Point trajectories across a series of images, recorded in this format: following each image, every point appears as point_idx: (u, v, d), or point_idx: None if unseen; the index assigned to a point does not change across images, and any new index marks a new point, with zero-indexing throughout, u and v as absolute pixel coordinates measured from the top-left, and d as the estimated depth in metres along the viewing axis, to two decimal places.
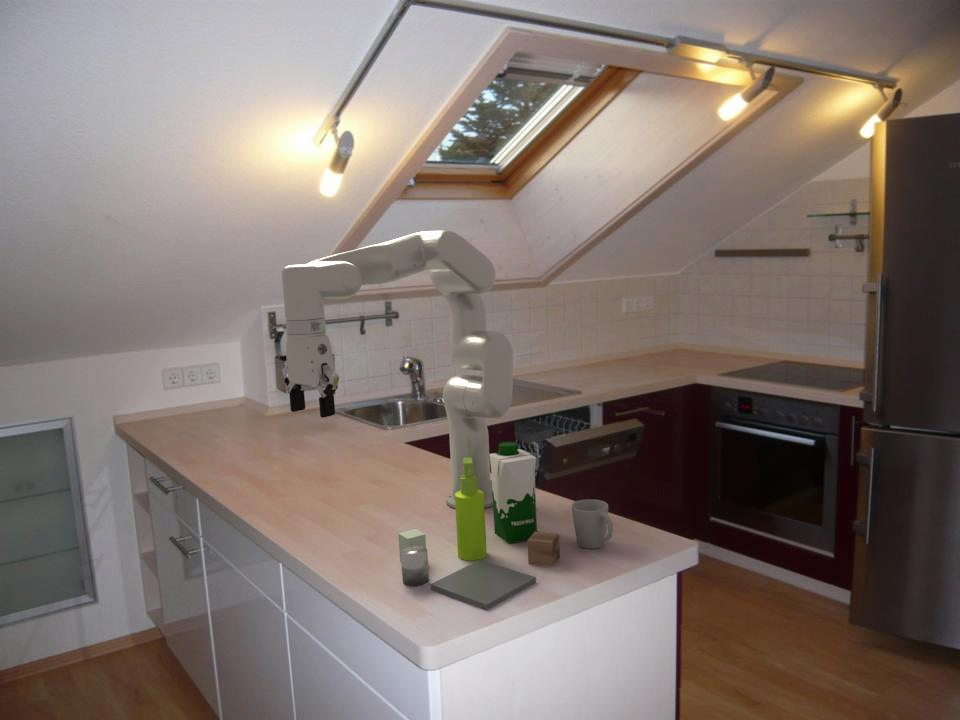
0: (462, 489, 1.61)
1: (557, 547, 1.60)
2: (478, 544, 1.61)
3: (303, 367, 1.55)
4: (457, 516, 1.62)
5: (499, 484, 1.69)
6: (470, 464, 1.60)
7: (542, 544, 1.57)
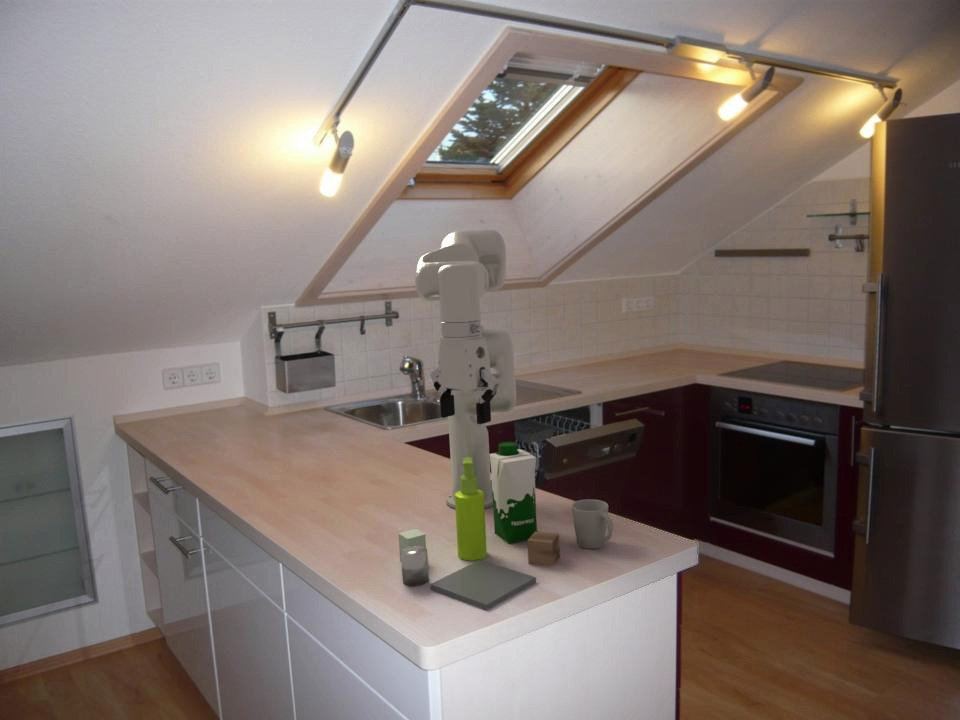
0: (462, 489, 1.61)
1: (557, 547, 1.60)
2: (478, 544, 1.61)
3: (459, 372, 1.48)
4: (457, 516, 1.62)
5: (499, 484, 1.69)
6: (470, 464, 1.60)
7: (543, 544, 1.57)
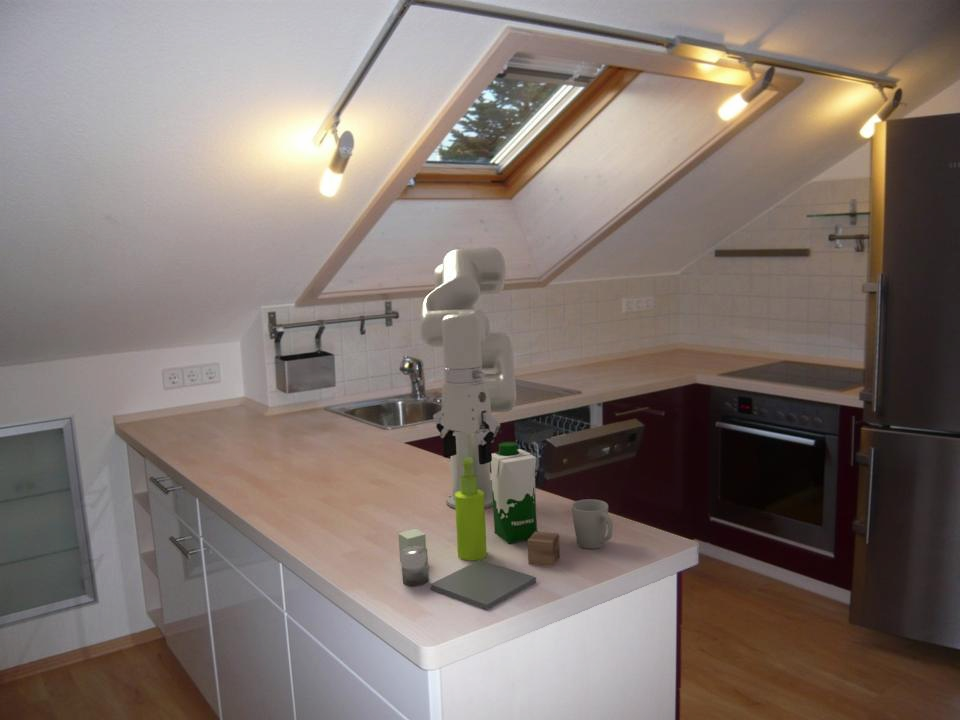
0: (462, 489, 1.61)
1: (557, 547, 1.60)
2: (478, 544, 1.61)
3: (462, 415, 1.57)
4: (457, 516, 1.62)
5: (499, 484, 1.69)
6: (470, 464, 1.60)
7: (543, 544, 1.57)
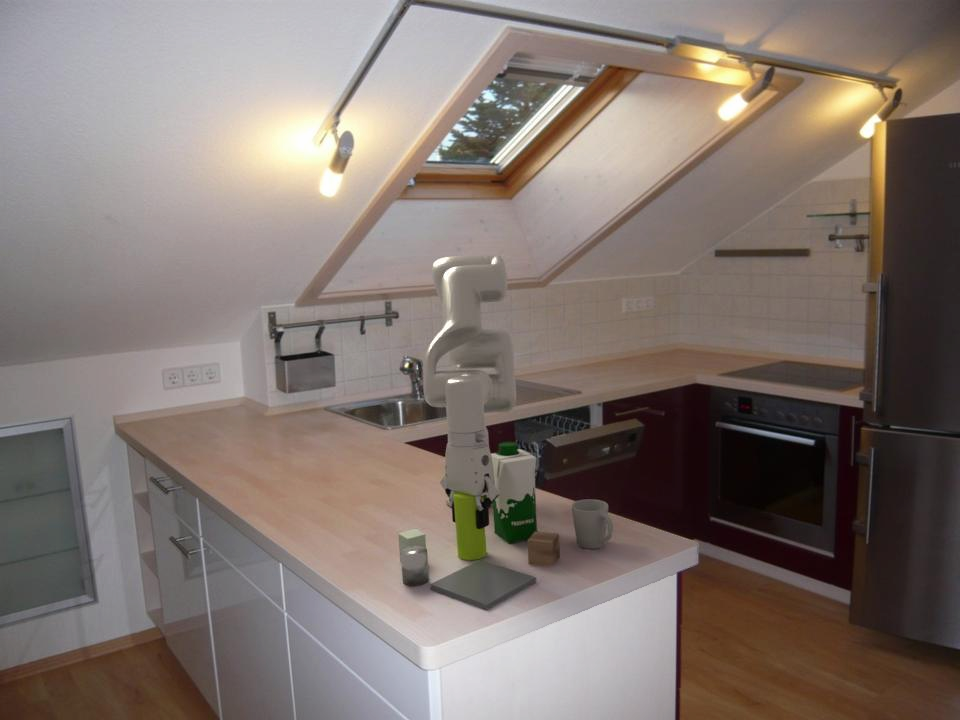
0: None
1: (557, 547, 1.60)
2: (477, 544, 1.61)
3: (465, 477, 1.59)
4: (456, 516, 1.62)
5: (499, 484, 1.69)
6: None
7: (543, 544, 1.57)
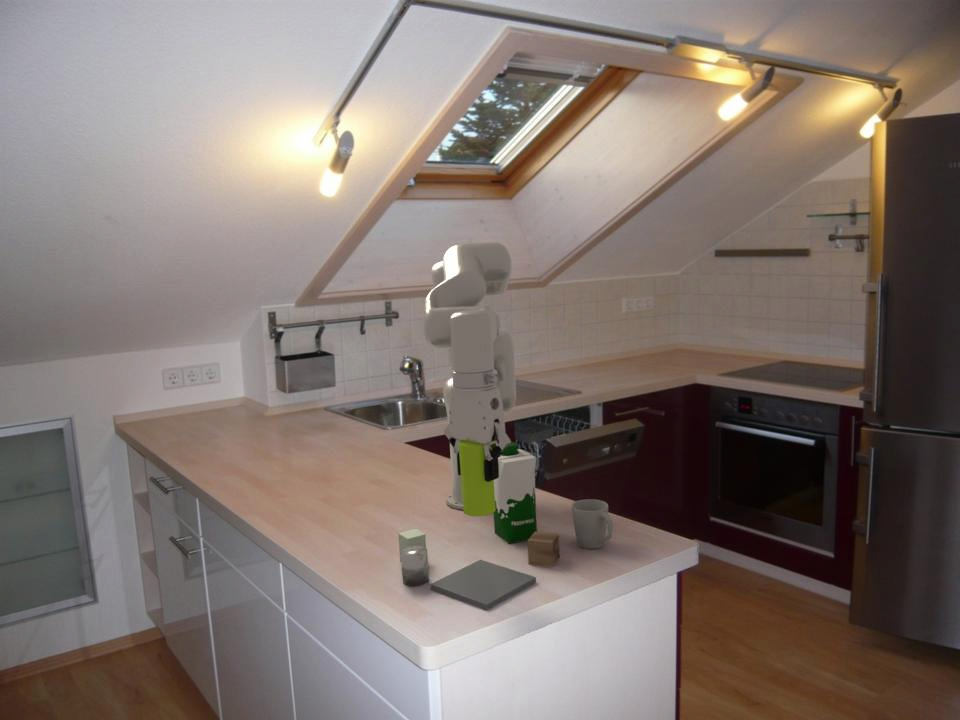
0: None
1: (557, 547, 1.60)
2: (485, 498, 1.44)
3: (472, 424, 1.42)
4: (462, 467, 1.44)
5: (499, 484, 1.69)
6: None
7: (543, 544, 1.57)
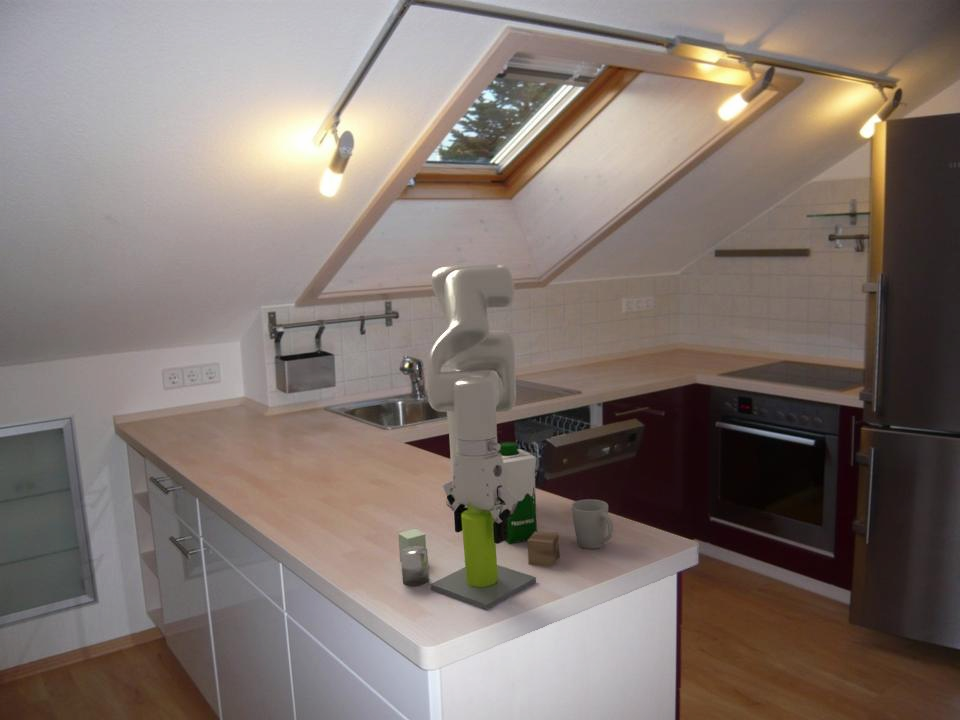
0: (469, 509, 1.46)
1: (557, 547, 1.60)
2: (488, 569, 1.46)
3: (476, 490, 1.44)
4: (464, 539, 1.47)
5: None
6: None
7: (543, 544, 1.57)
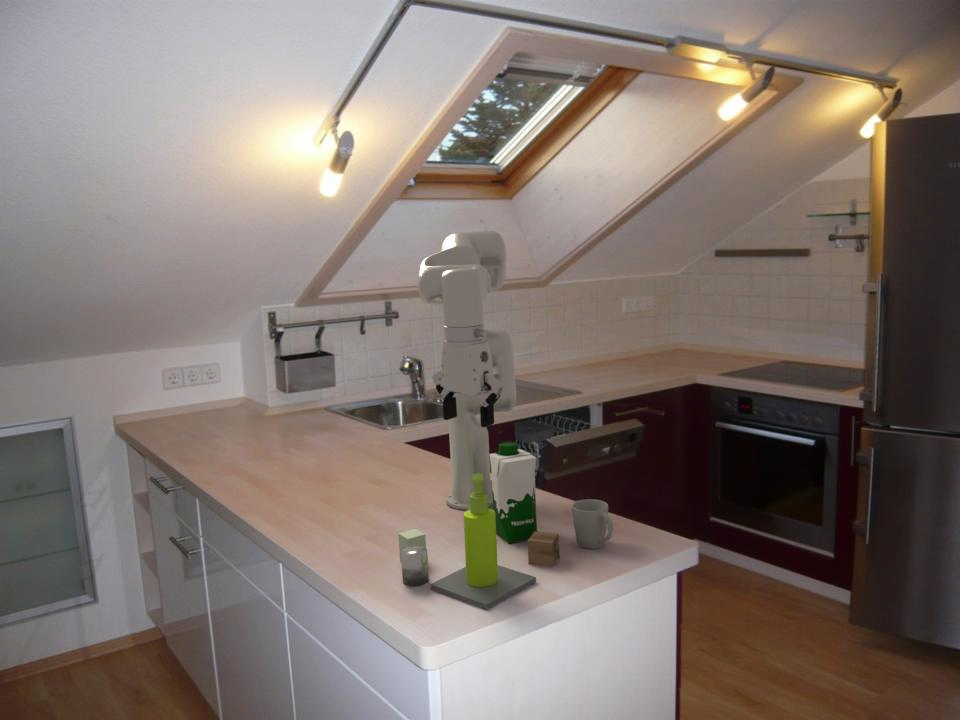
0: (472, 508, 1.46)
1: (557, 547, 1.60)
2: (489, 569, 1.46)
3: (463, 375, 1.50)
4: (466, 538, 1.47)
5: (499, 484, 1.69)
6: (481, 481, 1.45)
7: (543, 544, 1.57)
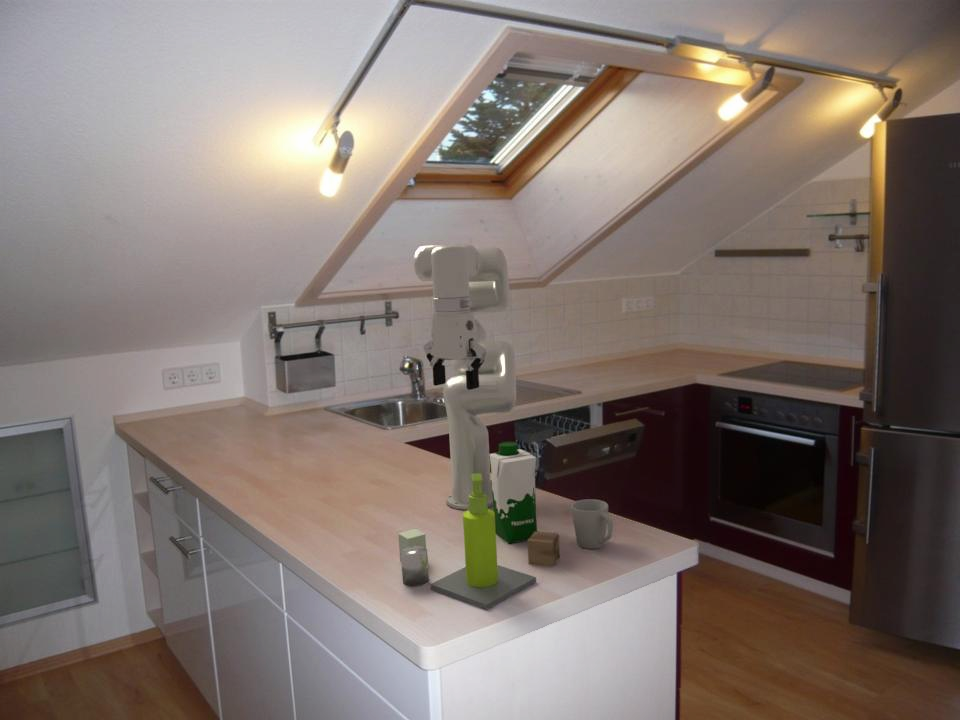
0: (471, 509, 1.46)
1: (557, 547, 1.60)
2: (488, 570, 1.46)
3: (451, 343, 1.65)
4: (465, 538, 1.47)
5: (499, 484, 1.69)
6: (480, 481, 1.45)
7: (543, 544, 1.57)
